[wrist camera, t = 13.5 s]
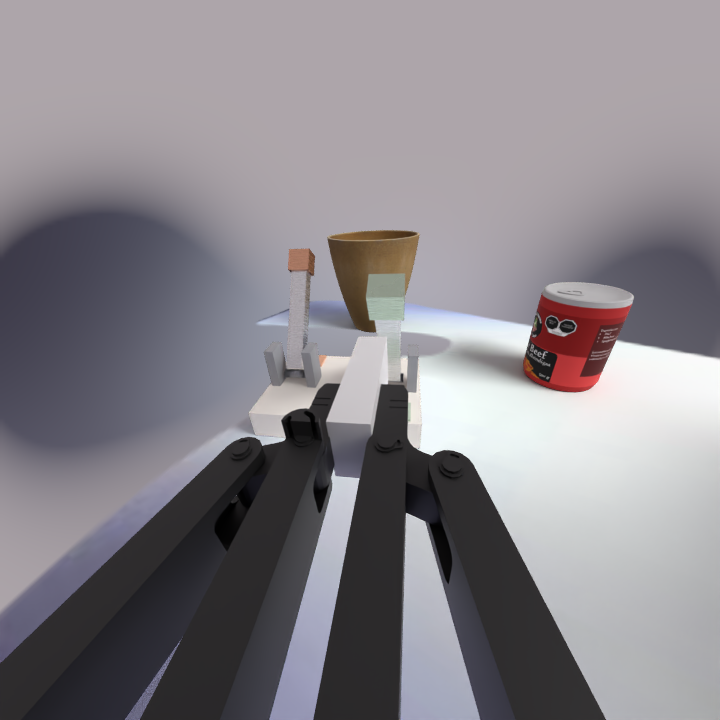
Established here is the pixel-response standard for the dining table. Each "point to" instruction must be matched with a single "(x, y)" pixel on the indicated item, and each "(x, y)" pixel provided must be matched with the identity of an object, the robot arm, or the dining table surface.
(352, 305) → the plant pot
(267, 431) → the console
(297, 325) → the lever
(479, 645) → the robot arm
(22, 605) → the dining table surface
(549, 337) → the canned food
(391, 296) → the lever
